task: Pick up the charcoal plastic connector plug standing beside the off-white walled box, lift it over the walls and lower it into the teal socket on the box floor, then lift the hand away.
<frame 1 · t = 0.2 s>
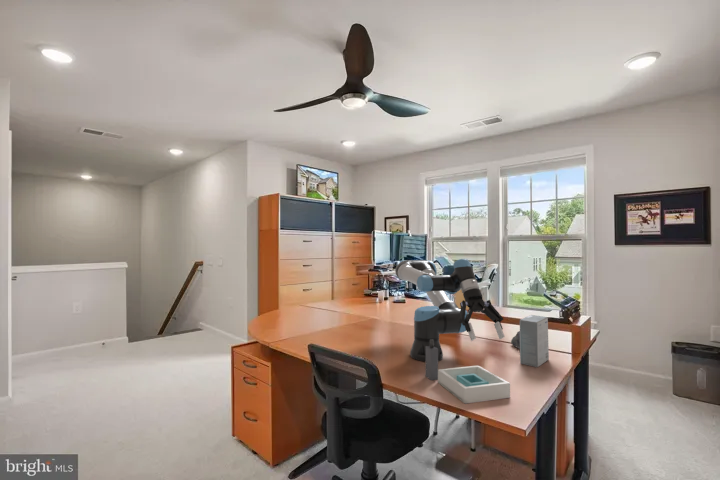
hand: (488, 338, 135), 15 cm above the table, tool tilted 35°, fingers open, 13 cm apart
walled box: (472, 389, 123), on the table
mineral rock: (522, 348, 175), on the table
hard drive box: (534, 362, 154), on the table
connector plug: (431, 377, 134), on the table
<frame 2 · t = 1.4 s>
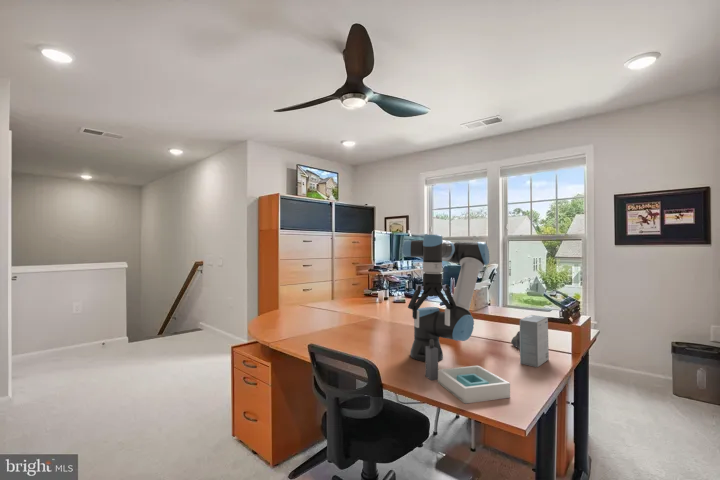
hand: (432, 326, 134), 20 cm above the table, tool pointing down, fingers open, 13 cm apart
nothing on the table moved.
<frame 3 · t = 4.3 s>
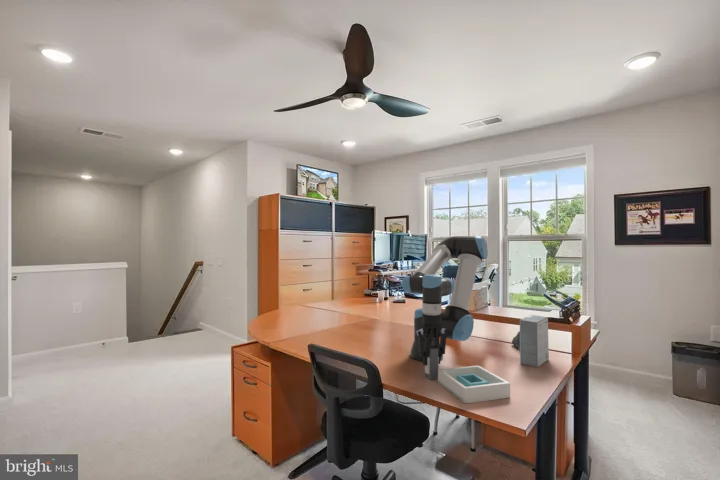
hand: (431, 372, 134), 2 cm above the table, tool pointing down, fingers closed on connector plug, 3 cm apart
connector plug: (431, 377, 134), on the table, touching gripper
everything else where it was.
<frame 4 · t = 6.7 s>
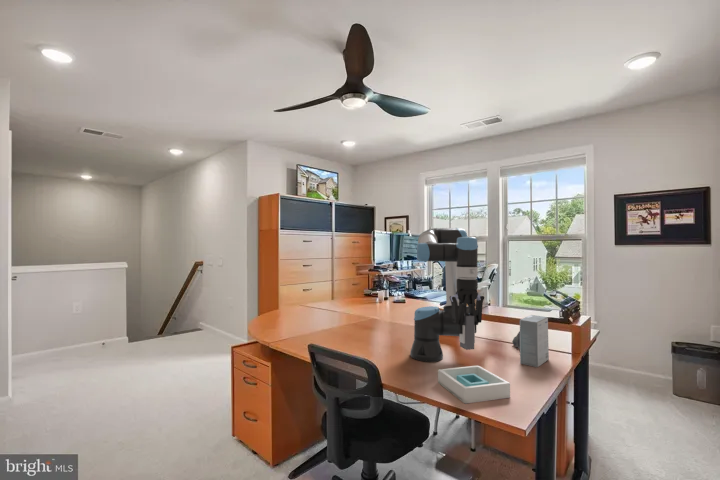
hand: (467, 342, 124), 17 cm above the table, tool pointing down, fingers closed on connector plug, 3 cm apart
connector plug: (467, 347, 124), point 15 cm above the table, touching gripper
everything else where it was.
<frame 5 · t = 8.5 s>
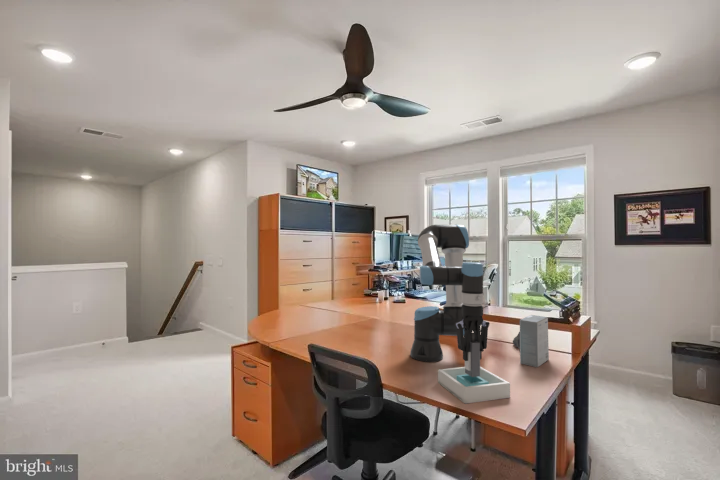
hand: (472, 368, 123), 8 cm above the table, tool pointing down, fingers closed on connector plug, 3 cm apart
connector plug: (472, 374, 123), point 6 cm above the table, touching gripper
everything else where it was.
when the fingers open (5 cm above the table, at t = 9.6 s): connector plug drops 2 cm, resting on walled box.
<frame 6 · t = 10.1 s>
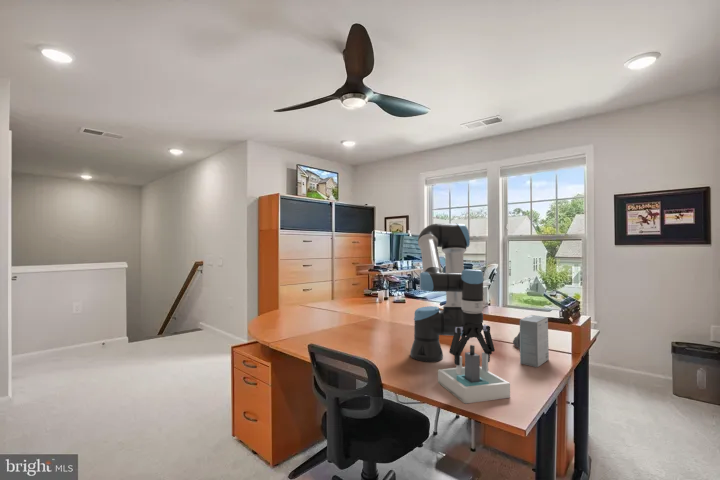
hand: (472, 372, 123), 6 cm above the table, tool pointing down, fingers open, 10 cm apart
connector plug: (472, 386, 123), point 1 cm above the table, touching walled box
everything else where it was.
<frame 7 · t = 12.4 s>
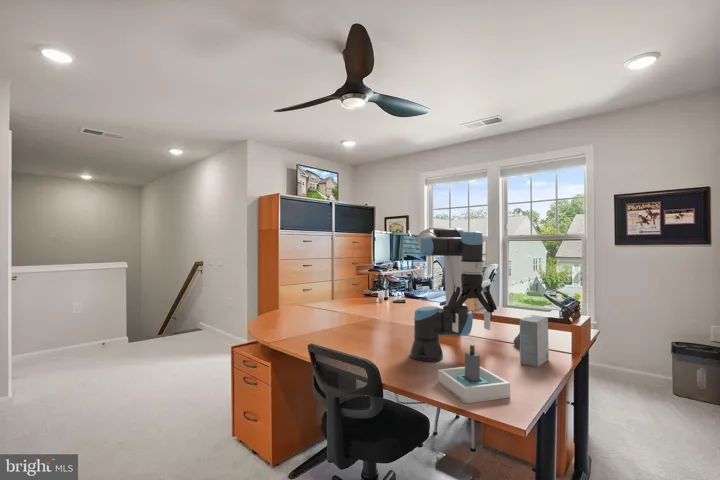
hand: (471, 330, 125), 21 cm above the table, tool pointing down, fingers open, 13 cm apart
nothing on the table moved.
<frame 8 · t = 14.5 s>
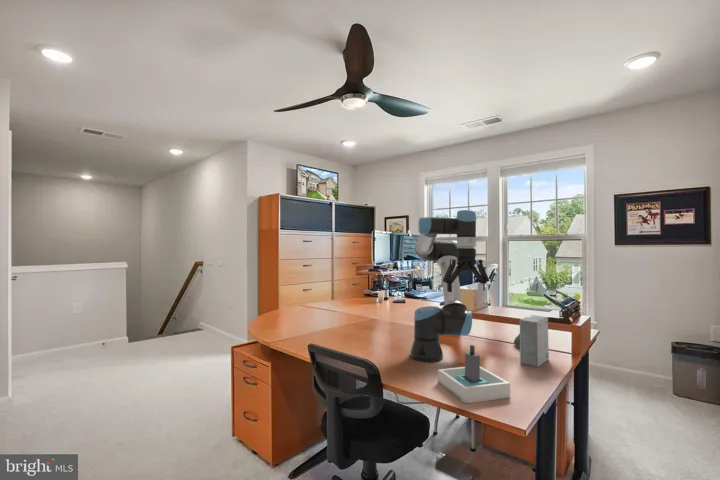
hand: (466, 299, 138), 31 cm above the table, tool pointing down, fingers open, 13 cm apart
at the end: connector plug 0.0 cm off-centre on the walled box, point 1.0 cm above the walled box's base; connector plug tilted 0°; the gripper is holding nothing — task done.
